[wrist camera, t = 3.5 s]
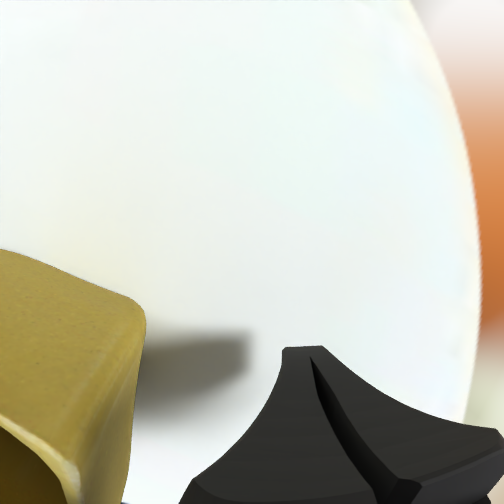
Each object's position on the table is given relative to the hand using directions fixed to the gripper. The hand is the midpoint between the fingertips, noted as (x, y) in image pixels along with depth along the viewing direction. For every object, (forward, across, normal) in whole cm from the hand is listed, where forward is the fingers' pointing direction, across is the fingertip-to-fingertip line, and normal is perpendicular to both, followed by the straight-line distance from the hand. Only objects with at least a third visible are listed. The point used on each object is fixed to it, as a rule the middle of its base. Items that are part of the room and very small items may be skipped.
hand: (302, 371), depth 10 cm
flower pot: (+3, +9, 0) cm, 10 cm away
